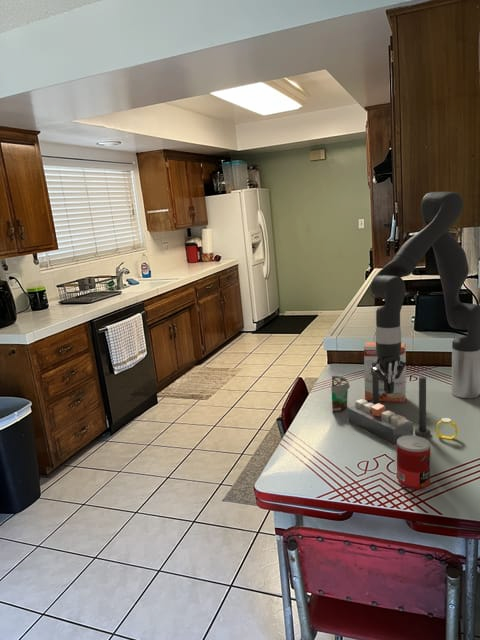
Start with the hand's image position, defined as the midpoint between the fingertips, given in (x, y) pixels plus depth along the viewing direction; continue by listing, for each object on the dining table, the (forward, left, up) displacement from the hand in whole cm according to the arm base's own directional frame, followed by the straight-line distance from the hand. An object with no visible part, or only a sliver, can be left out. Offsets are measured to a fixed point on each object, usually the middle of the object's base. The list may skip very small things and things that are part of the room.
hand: (389, 392), depth 151 cm
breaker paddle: (+4, 0, -6) cm, 7 cm away
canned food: (+18, +27, -12) cm, 35 cm away
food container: (+2, -21, -12) cm, 24 cm away
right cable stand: (-4, +10, -11) cm, 15 cm away
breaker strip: (+4, 0, -11) cm, 12 cm away
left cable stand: (-4, -10, -11) cm, 16 cm away
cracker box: (-15, -17, -12) cm, 25 cm away
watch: (-7, +16, -12) cm, 21 cm away
